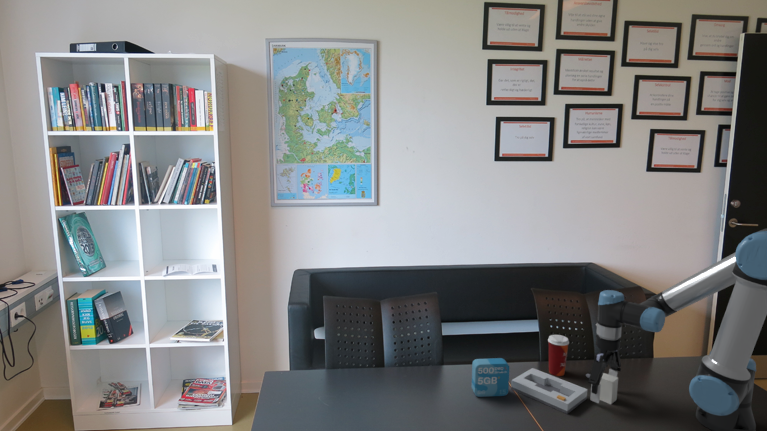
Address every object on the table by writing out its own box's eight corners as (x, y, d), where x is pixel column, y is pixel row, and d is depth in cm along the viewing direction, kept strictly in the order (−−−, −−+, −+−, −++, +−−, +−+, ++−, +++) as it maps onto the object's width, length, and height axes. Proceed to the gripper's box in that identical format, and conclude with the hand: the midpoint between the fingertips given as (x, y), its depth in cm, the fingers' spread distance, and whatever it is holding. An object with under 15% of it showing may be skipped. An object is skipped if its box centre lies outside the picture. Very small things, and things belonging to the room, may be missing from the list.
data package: (474, 397, 162) (475, 364, 161) (471, 390, 167) (472, 358, 165) (508, 396, 163) (509, 363, 161) (504, 389, 168) (505, 357, 166)
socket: (586, 398, 161) (587, 387, 161) (567, 414, 152) (567, 402, 152) (532, 376, 177) (532, 366, 176) (511, 389, 168) (511, 378, 167)
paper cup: (568, 378, 176) (571, 343, 174) (547, 376, 177) (549, 341, 175) (565, 368, 183) (567, 334, 181) (544, 366, 185) (546, 333, 183)
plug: (616, 399, 161) (618, 377, 160) (611, 404, 158) (612, 382, 157) (587, 388, 168) (589, 367, 167) (582, 392, 165) (583, 371, 164)
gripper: (612, 323, 170) (608, 378, 173) (580, 342, 153) (575, 402, 157) (634, 329, 164) (629, 386, 167) (603, 350, 148) (598, 412, 151)
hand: (603, 394), depth 162 cm, fingers open, 13 cm apart
